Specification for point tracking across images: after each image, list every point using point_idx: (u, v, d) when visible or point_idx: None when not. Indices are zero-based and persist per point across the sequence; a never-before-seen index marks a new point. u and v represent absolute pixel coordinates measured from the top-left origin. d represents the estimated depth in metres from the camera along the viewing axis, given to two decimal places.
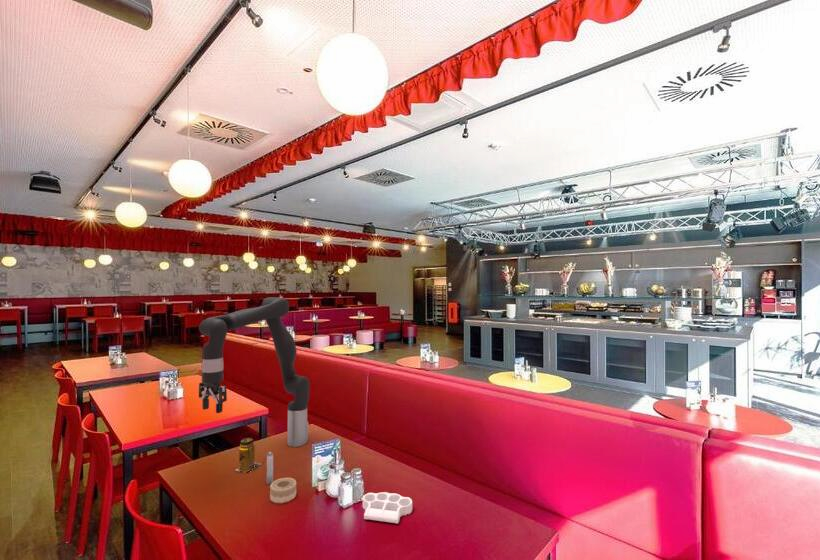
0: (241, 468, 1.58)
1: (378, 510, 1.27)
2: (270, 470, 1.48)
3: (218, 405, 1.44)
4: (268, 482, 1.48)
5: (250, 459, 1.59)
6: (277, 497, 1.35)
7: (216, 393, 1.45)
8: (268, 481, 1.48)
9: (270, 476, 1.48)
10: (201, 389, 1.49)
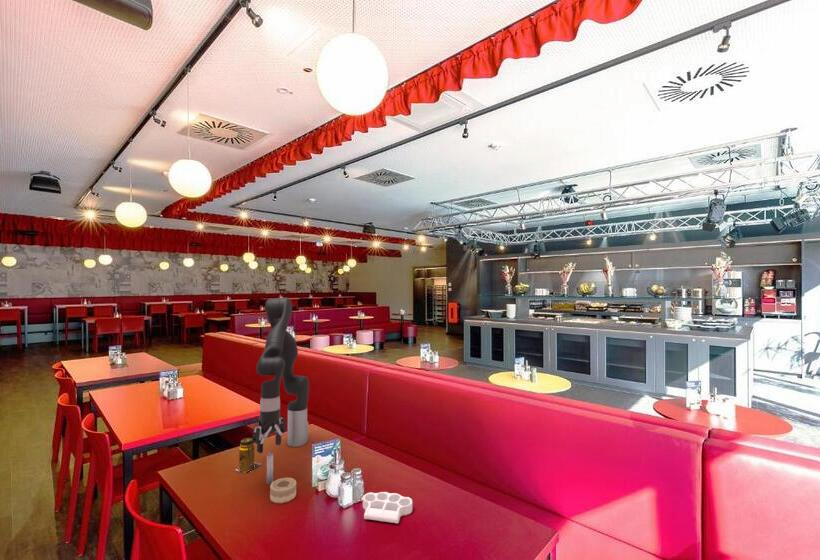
0: (241, 468, 1.58)
1: (378, 510, 1.27)
2: (270, 470, 1.48)
3: (280, 436, 1.53)
4: (268, 482, 1.48)
5: (250, 459, 1.59)
6: (277, 497, 1.35)
7: None
8: (268, 481, 1.48)
9: (270, 476, 1.48)
10: None
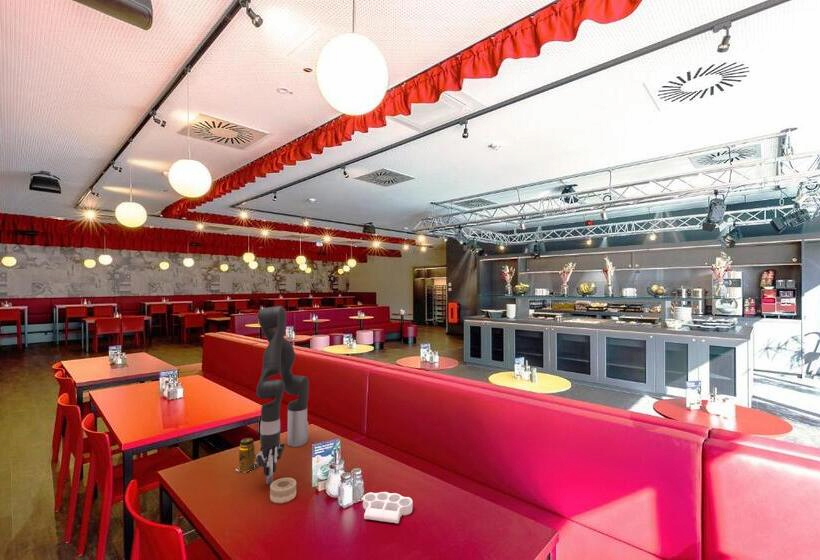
0: (241, 468, 1.58)
1: (378, 510, 1.27)
2: (270, 470, 1.48)
3: (275, 464, 1.51)
4: (268, 482, 1.48)
5: (250, 459, 1.59)
6: (277, 497, 1.35)
7: None
8: (268, 481, 1.48)
9: (270, 476, 1.48)
10: None
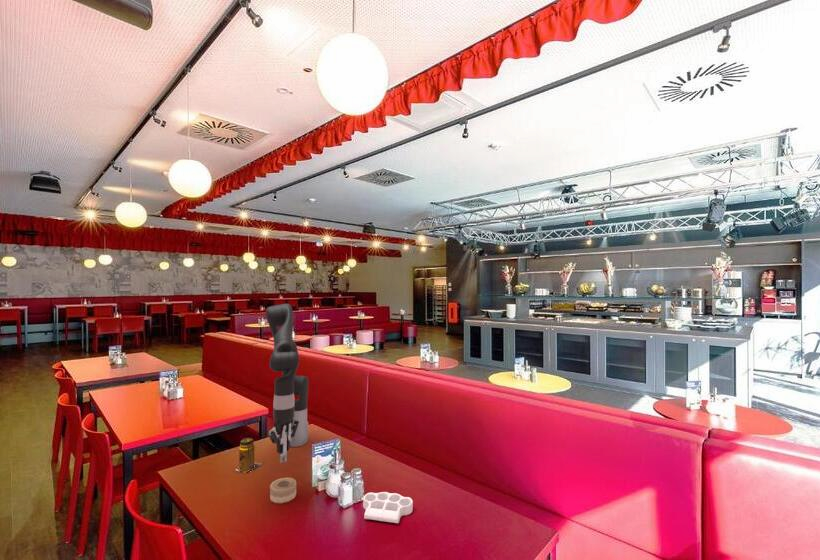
0: (241, 468, 1.58)
1: (378, 510, 1.27)
2: (284, 448, 1.39)
3: (289, 441, 1.41)
4: (282, 460, 1.39)
5: (250, 459, 1.59)
6: (277, 497, 1.35)
7: None
8: (281, 460, 1.39)
9: (283, 454, 1.39)
10: None
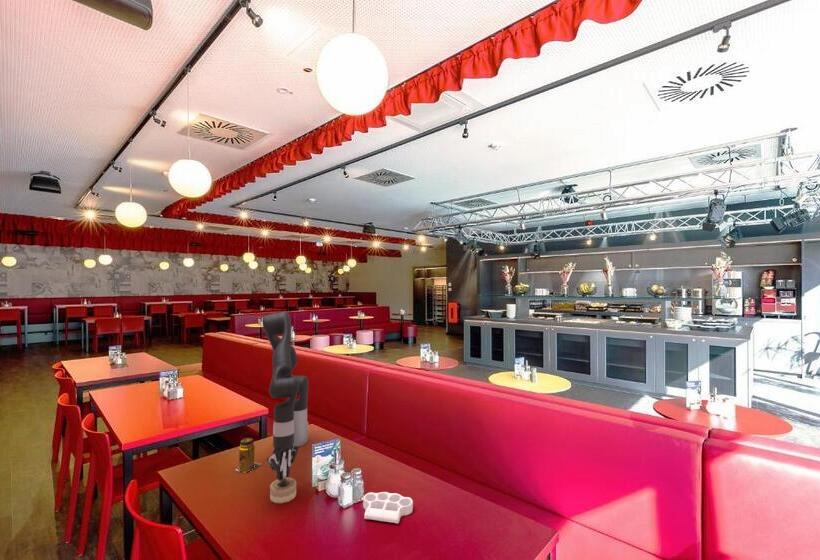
0: (241, 468, 1.58)
1: (378, 510, 1.27)
2: (283, 474, 1.39)
3: (289, 467, 1.41)
4: None
5: (250, 459, 1.59)
6: (277, 497, 1.35)
7: None
8: (281, 486, 1.39)
9: (283, 481, 1.39)
10: None
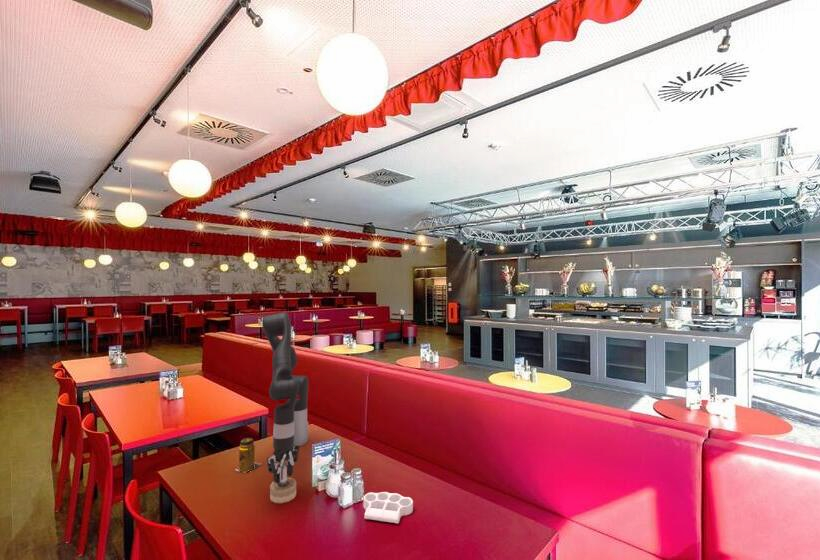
0: (241, 468, 1.58)
1: (378, 510, 1.27)
2: (284, 483, 1.39)
3: (292, 466, 1.43)
4: None
5: (250, 459, 1.59)
6: (277, 497, 1.35)
7: None
8: None
9: None
10: None
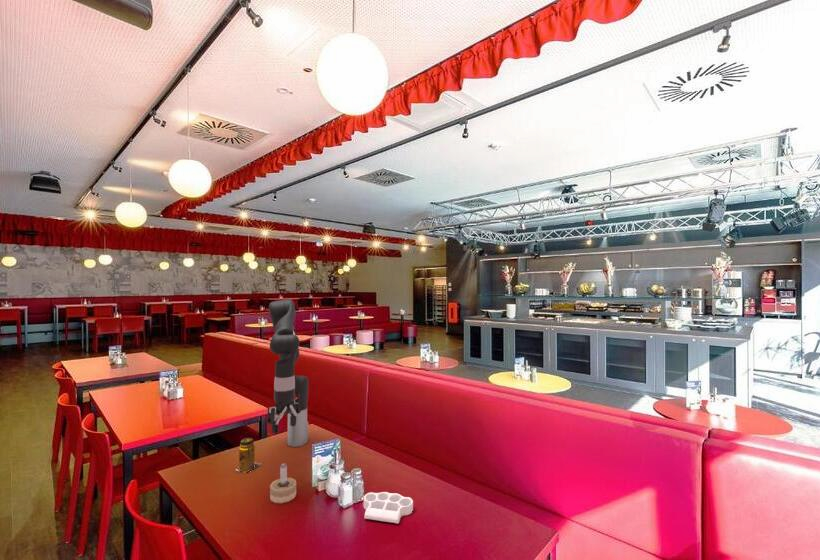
0: (241, 468, 1.58)
1: (379, 510, 1.27)
2: (284, 483, 1.39)
3: (295, 417, 1.46)
4: None
5: (250, 459, 1.59)
6: (277, 497, 1.35)
7: None
8: None
9: None
10: None
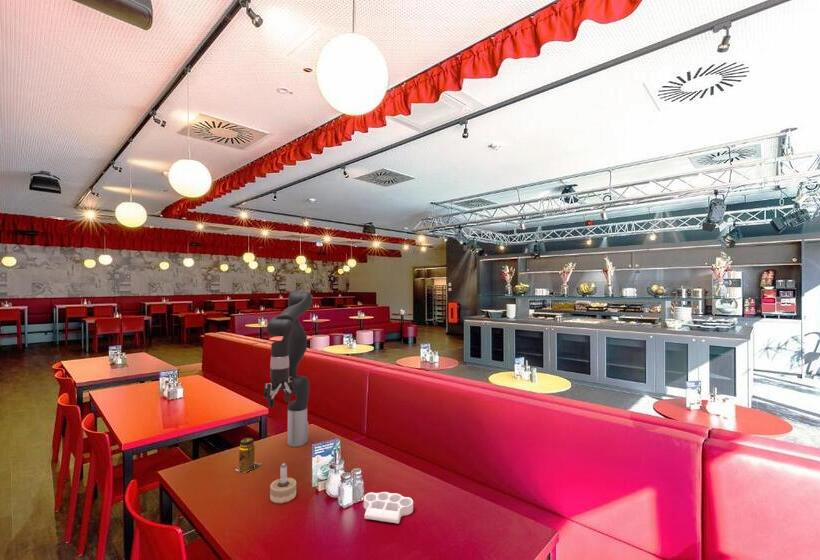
0: (241, 468, 1.58)
1: (379, 510, 1.27)
2: (284, 483, 1.39)
3: (289, 394, 1.62)
4: None
5: (250, 459, 1.59)
6: (277, 497, 1.35)
7: None
8: None
9: None
10: None
